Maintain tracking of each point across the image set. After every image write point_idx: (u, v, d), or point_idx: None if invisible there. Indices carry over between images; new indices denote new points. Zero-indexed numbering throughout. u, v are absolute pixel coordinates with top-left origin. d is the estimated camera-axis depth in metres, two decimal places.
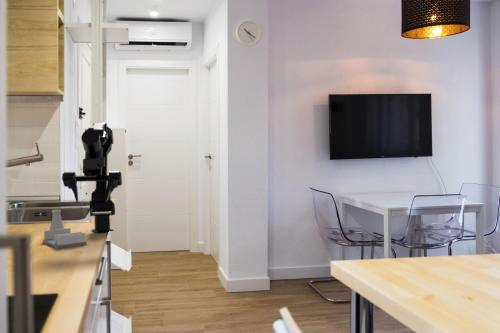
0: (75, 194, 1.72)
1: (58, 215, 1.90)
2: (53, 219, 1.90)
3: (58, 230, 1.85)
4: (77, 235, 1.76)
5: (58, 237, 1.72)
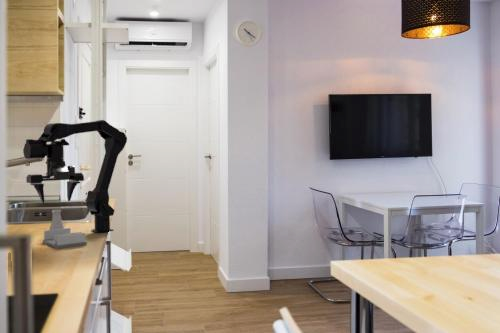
0: (42, 196, 1.86)
1: (58, 215, 1.90)
2: (53, 219, 1.90)
3: (58, 230, 1.85)
4: (77, 235, 1.76)
5: (58, 237, 1.72)
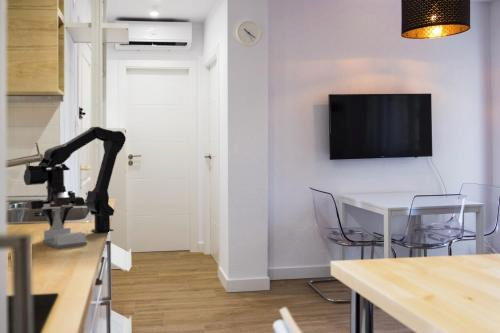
0: (50, 221, 1.89)
1: (58, 215, 1.90)
2: (53, 219, 1.90)
3: (58, 230, 1.85)
4: (77, 235, 1.76)
5: (58, 237, 1.72)
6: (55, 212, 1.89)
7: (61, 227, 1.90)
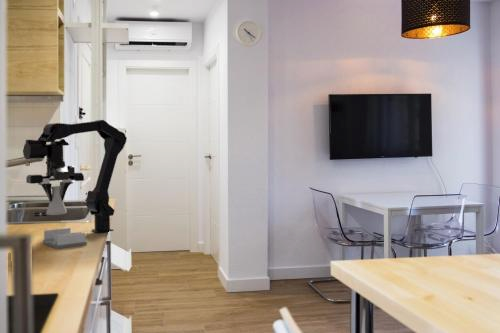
0: (50, 196, 1.88)
1: (58, 191, 1.89)
2: (53, 195, 1.89)
3: (58, 230, 1.85)
4: (77, 235, 1.76)
5: (58, 237, 1.72)
6: (55, 188, 1.89)
7: (61, 203, 1.89)
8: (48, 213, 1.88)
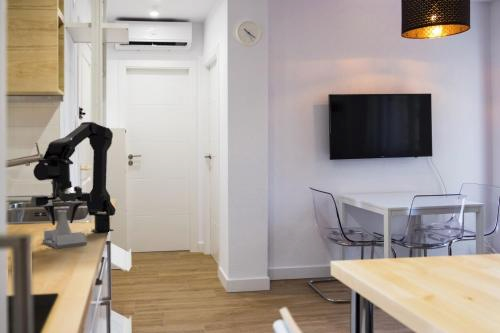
0: (53, 218, 1.78)
1: (64, 216, 1.80)
2: (59, 220, 1.79)
3: None
4: (77, 235, 1.76)
5: (58, 237, 1.72)
6: (61, 213, 1.79)
7: (67, 229, 1.80)
8: None
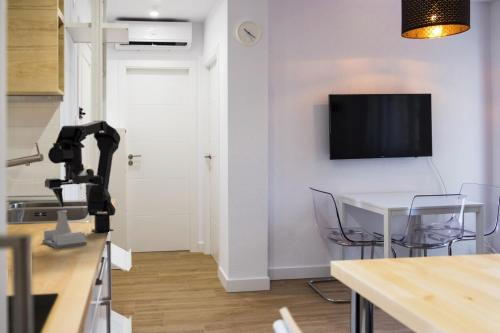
0: (61, 201, 1.82)
1: (64, 216, 1.80)
2: (59, 220, 1.79)
3: None
4: (77, 235, 1.76)
5: (58, 237, 1.72)
6: (61, 213, 1.79)
7: (67, 229, 1.80)
8: None
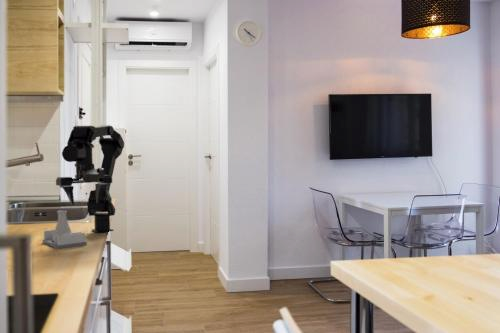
0: (72, 199, 1.86)
1: (64, 216, 1.80)
2: (59, 220, 1.79)
3: None
4: (77, 235, 1.76)
5: (58, 237, 1.72)
6: (61, 213, 1.79)
7: (67, 229, 1.80)
8: None
